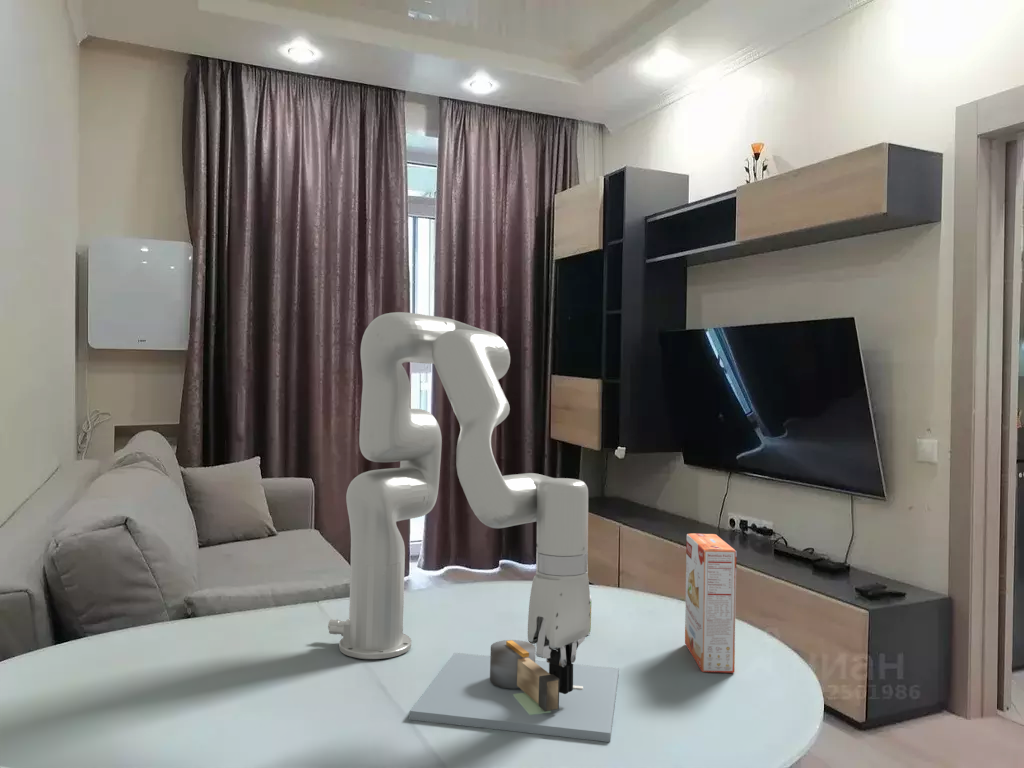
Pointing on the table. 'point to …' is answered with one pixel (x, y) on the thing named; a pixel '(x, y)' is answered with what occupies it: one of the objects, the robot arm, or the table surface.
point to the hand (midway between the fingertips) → (560, 690)
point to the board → (519, 701)
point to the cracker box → (710, 602)
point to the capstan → (523, 672)
